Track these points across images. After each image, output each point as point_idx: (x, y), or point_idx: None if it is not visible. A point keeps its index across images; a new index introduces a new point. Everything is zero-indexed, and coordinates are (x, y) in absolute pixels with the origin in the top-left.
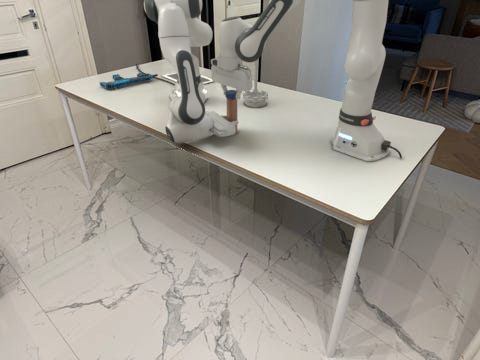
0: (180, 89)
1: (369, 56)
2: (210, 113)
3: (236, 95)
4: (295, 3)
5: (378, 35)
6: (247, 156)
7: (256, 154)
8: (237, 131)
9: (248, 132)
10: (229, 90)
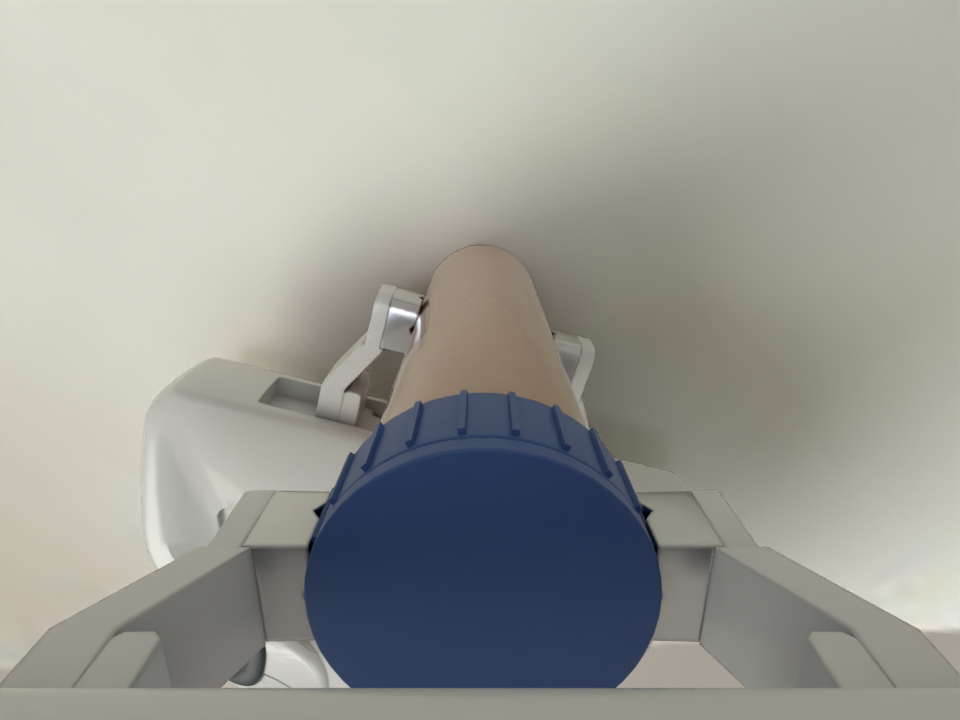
0: None
1: None
2: (219, 479)
3: (711, 632)
4: None
5: None
6: (873, 524)
7: (921, 461)
8: (526, 270)
9: (614, 186)
10: (350, 575)
